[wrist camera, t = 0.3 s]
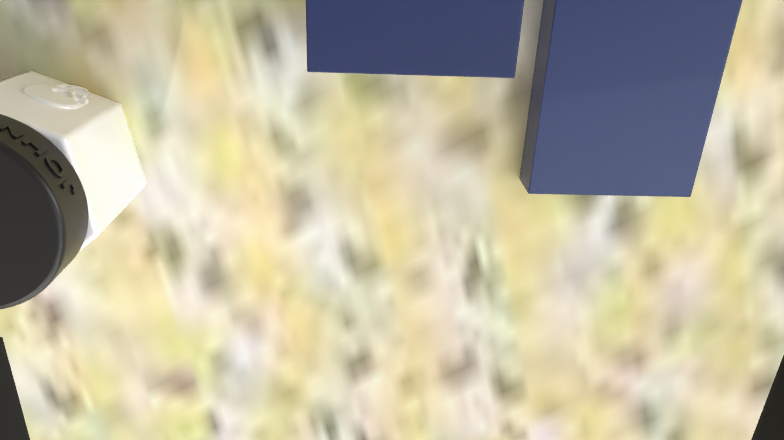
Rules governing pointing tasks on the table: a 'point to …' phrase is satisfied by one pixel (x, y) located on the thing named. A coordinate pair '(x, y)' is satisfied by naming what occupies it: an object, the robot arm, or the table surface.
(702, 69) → the navy stack
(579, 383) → the table surface
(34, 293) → the jar
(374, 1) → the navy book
